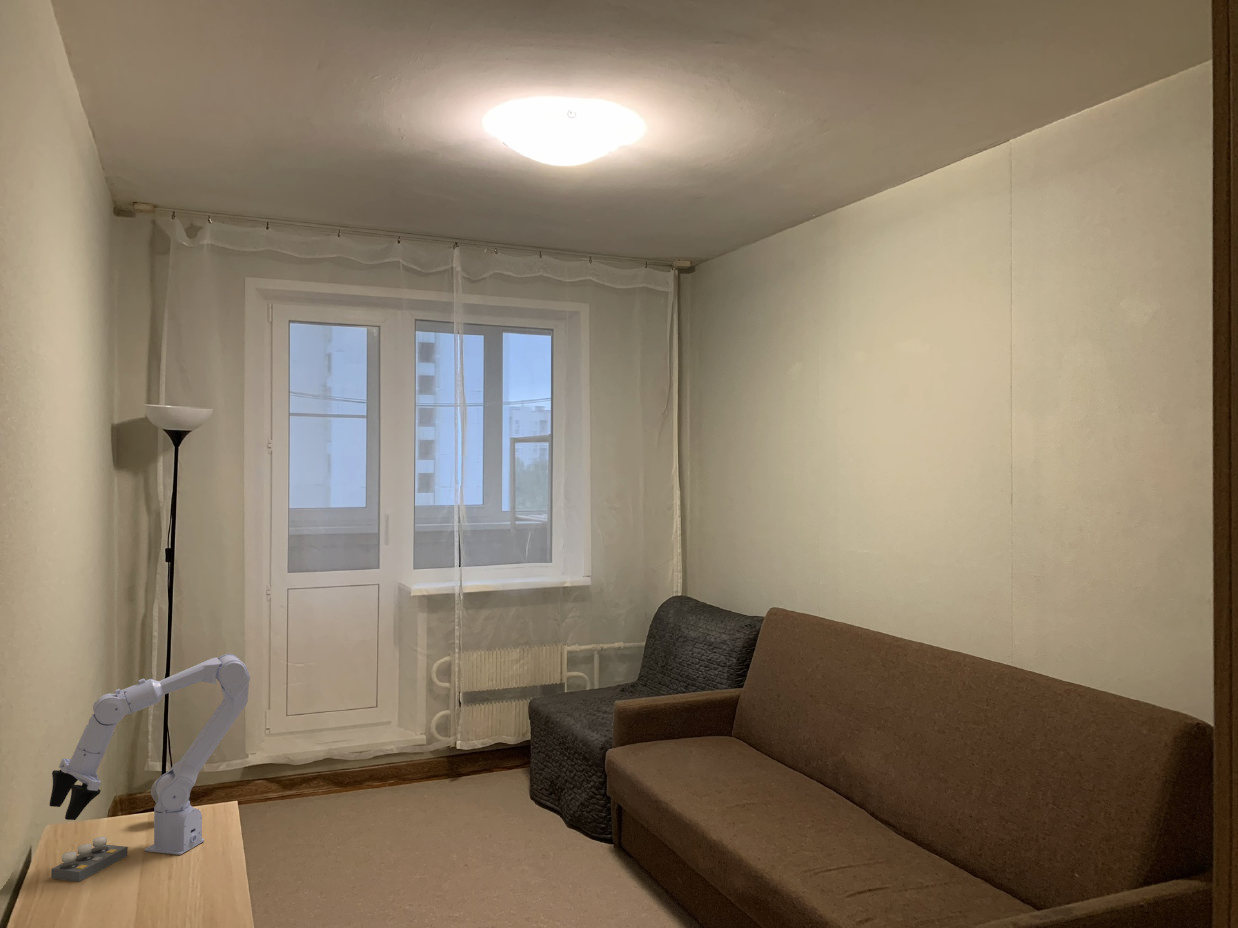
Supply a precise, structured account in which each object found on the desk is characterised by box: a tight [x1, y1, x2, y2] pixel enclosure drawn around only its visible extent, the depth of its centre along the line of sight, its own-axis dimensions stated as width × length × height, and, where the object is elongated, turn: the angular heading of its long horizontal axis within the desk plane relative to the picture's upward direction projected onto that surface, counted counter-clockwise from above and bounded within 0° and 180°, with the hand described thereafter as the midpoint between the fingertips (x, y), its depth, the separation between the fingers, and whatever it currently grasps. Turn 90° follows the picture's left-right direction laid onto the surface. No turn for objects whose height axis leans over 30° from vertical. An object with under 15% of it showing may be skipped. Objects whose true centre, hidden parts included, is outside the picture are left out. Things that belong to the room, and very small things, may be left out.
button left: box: [61, 851, 78, 863], centre depth 185 cm, size 3×3×1 cm
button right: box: [92, 836, 108, 848], centre depth 193 cm, size 3×3×1 cm
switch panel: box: [50, 843, 129, 883], centre depth 189 cm, size 7×13×2 cm, turn 167°
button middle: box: [77, 843, 93, 855], centre depth 189 cm, size 3×3×1 cm
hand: (62, 812), depth 189 cm, fingers open, 7 cm apart
